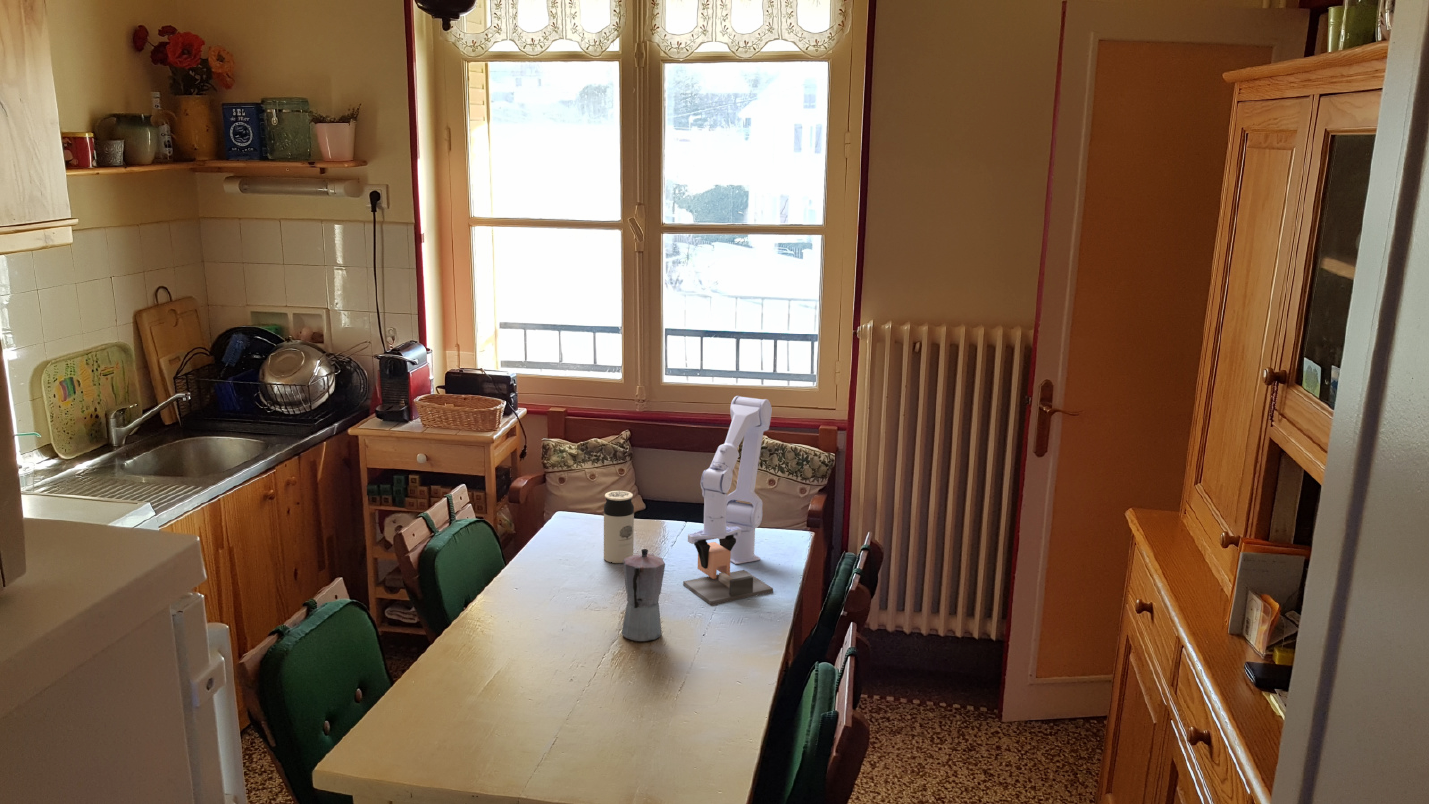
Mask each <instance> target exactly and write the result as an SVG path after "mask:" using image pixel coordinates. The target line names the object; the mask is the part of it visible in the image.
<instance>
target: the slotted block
mask: <svg viewBox="0 0 1429 804" xmlns="http://www.w3.org/2000/svg"><path fill="white" fill-rule="evenodd" d="M707 544H709V545H710V549H709V554H708V567H707V568H706V569H705V568H703V567H702V566H701V562H700V557H699V554H698V553H697V570H699V571H701V572H702V573H704V574H705V575H706V576H707V577H711V578H712V579H715V578H716V576H717V575H718V574H717V571H718V573H722V572H724V573H725V574H727V575H728V576H730V572H731V561H730V557H731V551H729V550H728V549H726V548H724V547H723V546H721V545H720V543H717V542H716V541H712V542H707Z"/></svg>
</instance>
